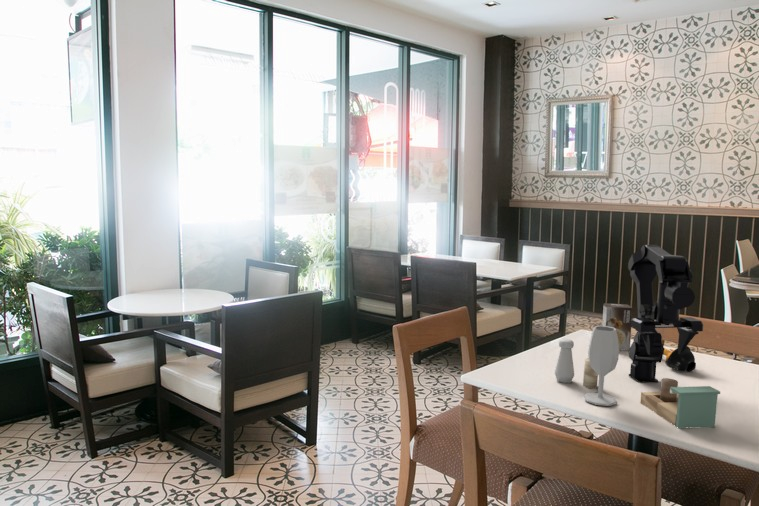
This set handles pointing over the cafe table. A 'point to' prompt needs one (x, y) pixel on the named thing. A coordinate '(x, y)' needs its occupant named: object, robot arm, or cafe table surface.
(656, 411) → the socket block
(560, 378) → the salt shaker
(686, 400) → the teal l-shaped bracket
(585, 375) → the maple peg
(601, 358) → the wineglass
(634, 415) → the cafe table surface
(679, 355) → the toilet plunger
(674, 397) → the walnut peg
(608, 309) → the coffee box
